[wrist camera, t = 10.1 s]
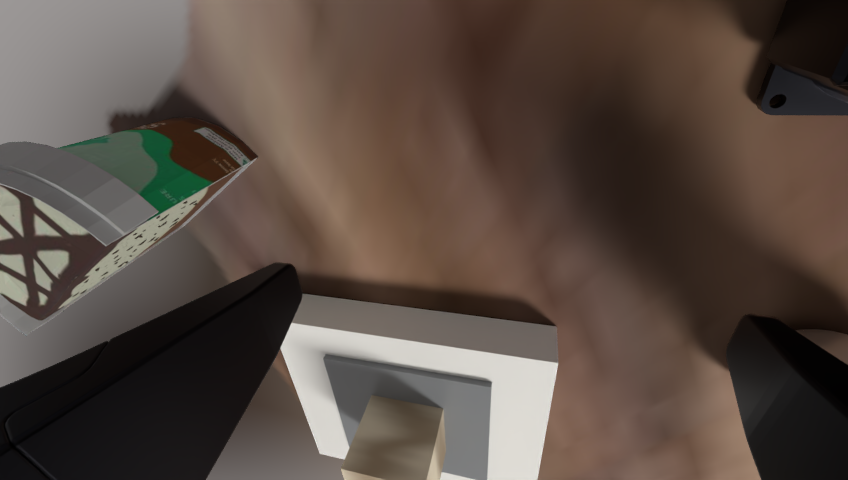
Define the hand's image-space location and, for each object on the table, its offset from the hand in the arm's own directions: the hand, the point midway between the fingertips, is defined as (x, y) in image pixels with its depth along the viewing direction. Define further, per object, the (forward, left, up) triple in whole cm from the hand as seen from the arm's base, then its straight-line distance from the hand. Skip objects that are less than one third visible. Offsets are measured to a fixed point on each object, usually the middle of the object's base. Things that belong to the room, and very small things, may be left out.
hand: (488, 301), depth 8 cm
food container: (+20, +2, -12) cm, 24 cm away
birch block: (+6, +20, -9) cm, 23 cm away
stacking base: (+6, +20, -12) cm, 24 cm away
